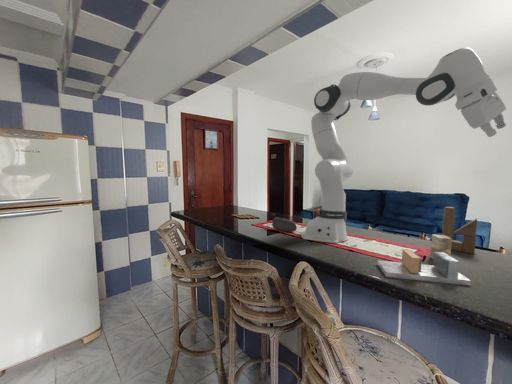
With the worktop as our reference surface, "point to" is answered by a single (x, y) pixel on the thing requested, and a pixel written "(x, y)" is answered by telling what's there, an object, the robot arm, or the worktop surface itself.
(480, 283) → the worktop surface
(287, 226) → the perforated stone tool
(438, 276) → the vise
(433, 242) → the beech block
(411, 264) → the block
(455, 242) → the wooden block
